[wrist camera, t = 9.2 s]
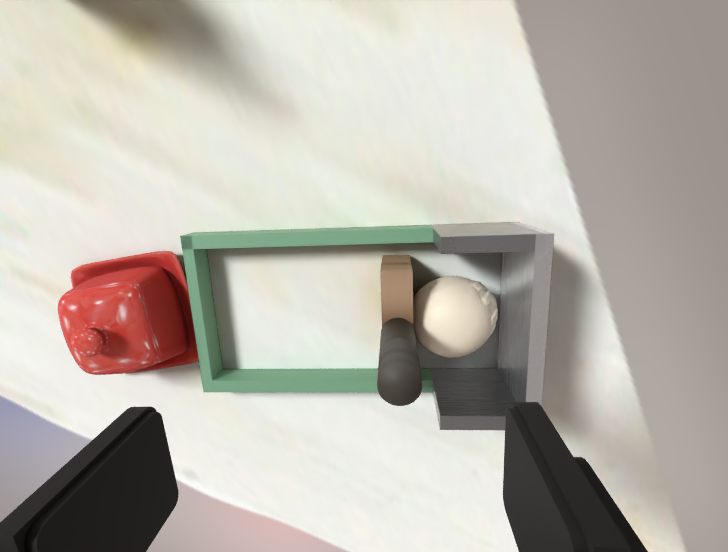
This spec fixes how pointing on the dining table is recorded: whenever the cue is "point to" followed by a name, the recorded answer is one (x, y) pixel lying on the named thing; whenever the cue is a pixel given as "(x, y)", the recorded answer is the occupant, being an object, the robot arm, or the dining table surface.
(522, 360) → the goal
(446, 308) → the cream round ball
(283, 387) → the frame
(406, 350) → the striker
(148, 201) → the dining table surface
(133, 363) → the butter dish
